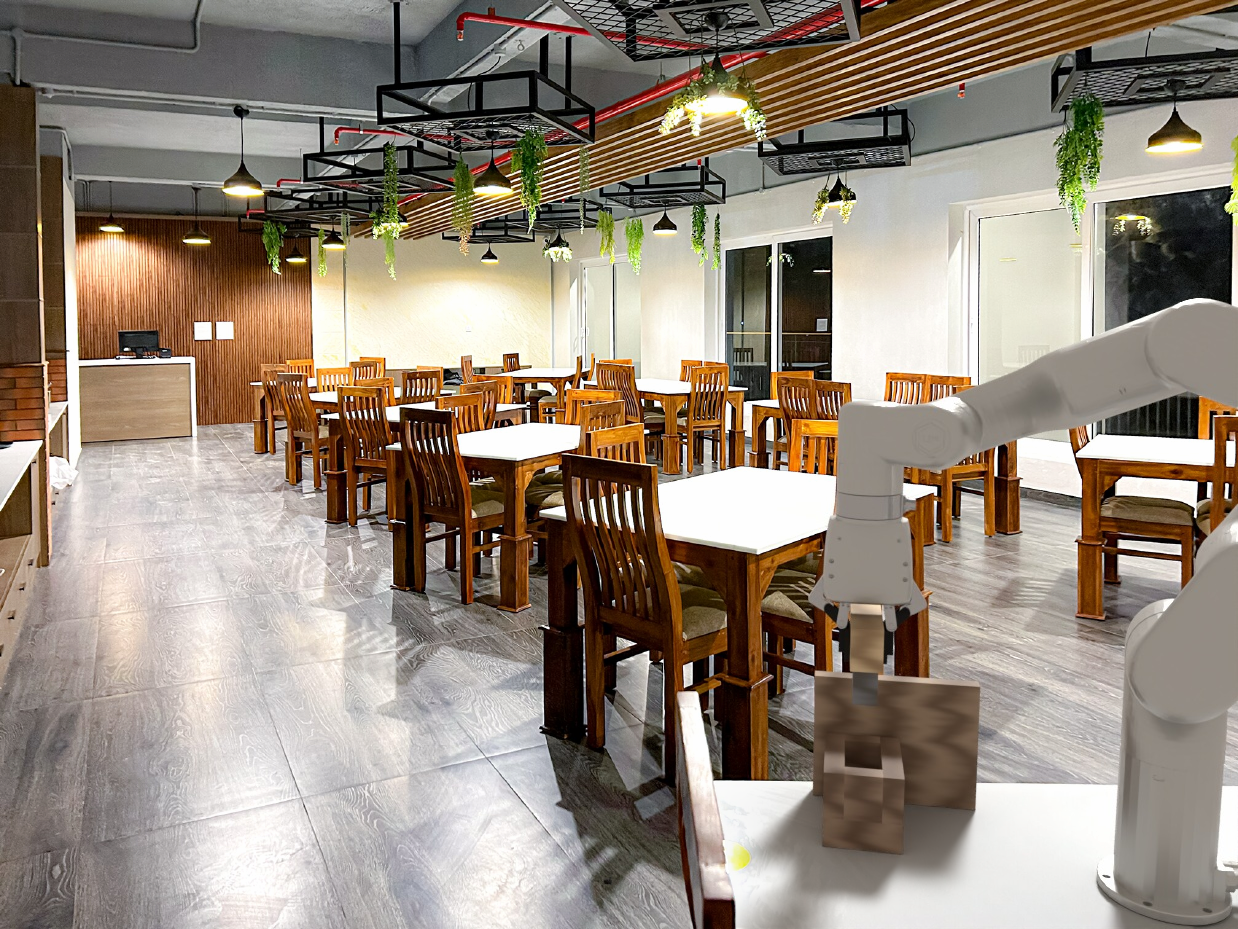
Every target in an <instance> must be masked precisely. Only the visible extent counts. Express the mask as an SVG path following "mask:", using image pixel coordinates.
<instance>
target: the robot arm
mask: <svg viewBox="0 0 1238 929" xmlns="http://www.w3.org/2000/svg"><path fill="white" fill-rule="evenodd" d="M1186 392H1189V393H1192V394H1194V395H1197V396H1200V397H1202V398H1205V399H1208V400H1210V401H1213V402H1215V403H1219V404H1222V405H1224V406H1226V407H1230V408H1233V409H1235V410H1238V307H1237V306H1234V305H1232V304H1229V303H1227V302H1223V301H1219V300H1215V299H1211V298H1193V299H1188V300H1184V301H1182V302H1178V303H1177V304H1174V305H1172V306H1170V307H1167V308H1164V309H1162V310H1160V311H1156V312H1155V313H1151V314H1148V315H1146V316H1143V317H1141V318H1139V319H1135V320H1133V321H1130V322H1127V323H1125V324H1122V325H1120V326H1117V327H1114V328H1112V329H1108V330H1106V331H1103V332H1102V333H1098V334H1095V335H1093V336H1090V337H1087V338H1085V339H1081V340H1079V341H1076V342H1074V343H1071V344H1068V345H1065V346H1064V347H1063V346H1062V347H1061V348H1057V349H1055V350H1052V351H1050V352H1049V353H1046V354H1043V355H1042V356H1040V357H1039V358H1037V359H1035V360H1034V361H1032V362H1030V363H1028V364H1027V365H1025V366H1023V367H1021V368H1018V369H1017V370H1015V371H1012V372H1010V373H1007V374H1005V375H1001V376H999V377H997V378H994V379H991V380H989V381H986V382H985V383H984V382H983V383H981V384H978V385H976V386H973V387H970V388H968V389H965V390H962V391H959V392H956V393H954V394H951V395H948V396H945V397H943V398H939V399H935V400H932V401H929V402H926V403H919V404H910V405H909V404H908V405H900V404H899V403H897V402H894V401H888V400H887V401H886V400H854V401H849V402H846V403H844V404H842V406H841V407H840V408H839V411H838V418H837V419H838V420H837V452H836V453H837V456H836V458H837V460H836V462H837V463H836V504H835V505H836V506H835V508H836V509H835V510H836V511H835V514H832V515H830V516H829V519H828V524H827V529H826V534H825V543H824V554H823V555H824V556H823V570H822V575H821V576H820V577H819V579H818V580H817V582H816V584H815V585H814V587H813V588H812V590H811V592H810V593H809V594H808V602H809V603H810V604H811V605H813V606H814V607H816V608H817V609H819V610H821V611H823V612H824V613H825V614H826V615H827V616H828V617H829V618H830V619H831V620H832V622H833V623H834V624H836V626H837V627H838V650H837V651H838V653H844V660H843V662H844V663H845V662H846V663H850V634H851V626H850V618H849V617H850V605H851V604H868V605H881V606H883V612H884V619H883V625H884V654H883V665H887V664H888V656H894V642H895V641H894V640H895V631H896V630H897V628H898V627H899V626H901V625H902V624H903V623H904V622H905V621H906V620H908V619H909V618H910V617H911V616H912V615H915V614H917V613H919V612H921V611H923V610H925V609H927V607H928V603H927V600H926V599H925V596H924V595H923V593H922V592H921V590H920V588H919V587H918V585H917V583H916V582H915V579H914V576H913V573H914V572H913V568H914V566H913V565H914V564H913V548H912V545H913V544H912V535H911V526H910V522H909V519H908V518H907V517H905V516H904V514H906V512H909V511H916V509H917V508H916V507H917V501H916V500H917V499H916V498H910V497H907V496H906V495H905V494H904V474H905V472H904V470H905V467H911V468H914V469H915V468H916V469H920V470H926V471H944V470H947V469H950V468H952V467H955V466H956V465H957V464H959V463H960V462H962V461H963V460H964V459H966V458H969V457H971V456H974V455H976V454H979V453H981V452H985V451H988V450H990V449H994V448H997V447H999V446H1002V445H1005V444H1008V443H1012V442H1014V441H1016V440H1021V439H1023V438H1027V437H1031V436H1035V435H1038V434H1042V433H1045V432H1046V433H1047V432H1050V431H1051V432H1052V431H1065V430H1067V431H1068V430H1072V429H1077V428H1082V427H1084V426H1088V425H1091V424H1094V423H1097V422H1100V421H1103V420H1106V419H1109V418H1111V417H1114V416H1117V415H1119V414H1123V413H1126V412H1129V411H1132V410H1135V409H1138V408H1141V407H1144V406H1147V405H1152V403H1153V404H1154V403H1157V402H1160V401H1162V400H1166V399H1169V398H1171V397H1174V396H1178V395H1180V394H1183V393H1186ZM1194 563H1195V564H1194V565H1195V566H1194V568H1195V569H1194V570H1195V572H1194V573H1195V574H1194V575H1193V576H1192V577H1191V578H1190V580H1189V581H1188V582H1187V584H1185V586H1184V587H1183V588H1182V589H1181V591H1179V593H1178V595H1177V596H1176V597H1175V598H1166V599H1165V598H1164V599H1160V600H1156V601H1154V602H1151V603H1149V604H1148V605H1145V606H1144V607H1143V608H1142V609H1140V610H1139V611H1138V612H1137V613H1136V614H1135V615H1134V616H1133V619H1131V622H1130V623H1129V625H1128V628H1127V631H1126V634H1125V638H1124V652H1123V653H1124V656H1123V662H1124V664H1123V665H1124V666H1123V667H1124V670H1123V671H1124V672H1123V691H1122V708H1121V709H1122V711H1121V725H1120V726H1121V728H1120V743H1119V756H1118V757H1119V760H1118V773H1117V774H1118V775H1117V789H1116V790H1117V793H1116V806H1115V807H1116V810H1115V811H1116V813H1115V825H1114V826H1115V827H1114V828H1115V829H1114V840H1113V841H1114V842H1113V854H1111V855H1108V856H1106V857H1104V858H1103V859H1101V861H1099V862H1098V864H1097V868H1096V881H1097V884H1098V886H1099V887H1100V888H1101V890H1102V891H1103V892H1104V893H1105V894H1106V895H1107V896H1108V897H1109V898H1110V899H1111V900H1113V901H1115V903H1117V904H1119V905H1121V906H1122V907H1124V908H1126V909H1128V910H1130V911H1132V912H1134V913H1137V914H1140V915H1142V916H1145V917H1148V918H1150V919H1154V920H1157V921H1160V922H1166V923H1170V924H1175V925H1184V926H1205V925H1212V924H1217V923H1218V922H1220V921H1224V920H1226V918H1227V917H1229V916H1230V915H1231V913H1232V906H1233V897H1232V894H1231V893H1235V892H1236V890H1238V861H1231V860H1229V861H1226V860H1223V861H1222V860H1220V858H1219V856H1218V854H1219V853H1218V850H1219V840H1220V824H1221V823H1220V822H1221V810H1222V794H1223V784H1224V783H1223V781H1224V770H1225V769H1224V767H1225V763H1226V750H1227V734H1228V713H1229V711H1228V710H1229V709H1230V708H1231V707H1233V706H1234V705H1235V704H1236V703H1237V702H1238V503H1237V504H1236V505H1235V506H1234V508H1232V510H1231V511H1230V512H1229V513H1228V514H1227V515H1226V516H1225V518H1224V519H1223V520H1222V521H1221V522H1220V523H1219V524H1218V525H1217V527H1216V528H1214V530H1213V531H1212V532H1211V533H1210V534H1208V536H1207V537H1206V538H1205V539H1204V540H1203V541H1202V543H1201V544H1200V546H1199V548H1198V549H1197V553H1196V556H1195V561H1194ZM835 603H838V606H837V605H836V604H835ZM895 606H899V607H898V608H897V609H895V608H896V607H895Z"/></svg>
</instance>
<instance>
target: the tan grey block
mask: <svg viewBox="0 0 1238 929" xmlns="http://www.w3.org/2000/svg"><path fill="white" fill-rule="evenodd" d="M883 621H884V619H883V610H882V605H868V604H851V605H850V611H849V622H850V626H851V634H850V661H849V671H850V672H851V673H852V704H853V705H865V706H877V698H878V675H879V674H881V675H884V664H883V654H884V625H883Z"/></svg>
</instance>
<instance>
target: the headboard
mask: <svg viewBox="0 0 1238 929" xmlns="http://www.w3.org/2000/svg"><path fill="white" fill-rule="evenodd" d="M852 673H853V672H839V671H837V672H836V671H825V670H814V701H813V702H814V704H813V705H814V706H813V708H814V709H813V710H814V711H813V760H812V762H813V764H812V765H813V766H812V768H813V769H812V796H820V797H821V796H822V797H823V798H822V837H821V838H822V840H821V841H822V843H821V846H822V847H826V848H827V847H828V848H836V849H837V848H838V849H846V850H856V851H857V850H858V851H866V852H877V853H886V854H892V855H893V854H895V855H904V854H903V850H904V846H903V845H904V819H905V818H904V817H905V816H904V815H905V812H904V811H905V804H907V805H914V806H915V805H917V806H926V807H937V808H938V807H940V808H947V809H959V810H971V811H976V808H977V806H976V804H977V783H978V782H977V780H978V779H977V778H978V756H979V754H978V753H979V751H978V750H979V732H980V730H979V729H980V709H981V708H980V706H981V705H980V704H981V703H980V702H981V701H980V700H981V685H980V683H979V681H978V680H977V681H975V680H963V679H962V680H961V679H947V678H946V679H945V678H933V677H916V676H900V675H886V674H878V698H877V706H865V705H853V704H852Z"/></svg>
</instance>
